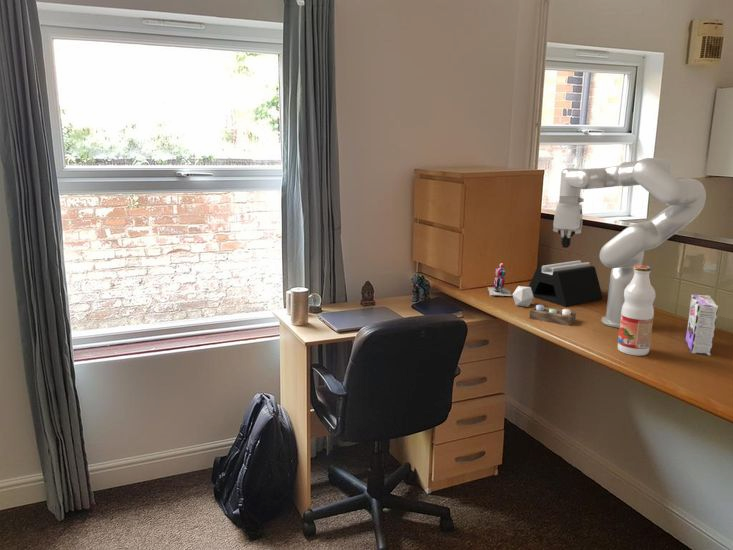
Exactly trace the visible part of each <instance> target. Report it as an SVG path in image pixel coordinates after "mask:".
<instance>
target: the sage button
mask: <svg viewBox="0 0 733 550" xmlns="http://www.w3.org/2000/svg"><path fill="white" fill-rule="evenodd" d="M557 309H558V308H552V309H549V313H555V314H557Z"/></svg>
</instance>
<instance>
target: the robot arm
mask: <svg viewBox="0 0 733 550" xmlns="http://www.w3.org/2000/svg"><path fill="white" fill-rule="evenodd" d="M672 173H673V165H672V163H671V162H670V161H669V160H668V159H666V158H663V157H646V158H643V159H639V160H633V161H626V162H621V163H620V164H619V165H616V166H615V165H614V166H609V167H599V168H583V169H582V168H581V169H580V168H574V167H573V168H567V167H566V168H563V169H562V170H561V173H560V174H561V175H560V186H559V200H558V203H557V205H556V207H555V211H554V217H553V218H554V219H553V228H552V232H554V233H555V232H556V233H558V234H559V236H560V237H561V246H562V248H563V249H564V248H566V249H567V248H569V247H570V246H571V238H572V237H573V236H574V235H578V234H581V233H582V227H583V205H582V204H580V203H584V200H585V199H584V198H582V197H581V191H582V190H592V189H604V188H612V187H632V186H641V187H642V188H644V189H645V191H647V192H648V193H649V194H651V195H652V196H653V197H654V198H655V199H657V200H658V201H659V202H661V203H663V204H665V205H667V206H668V207H666V208H665V209H663V210H661V211H660V212H659V213H658V214H657V215H655V216H654V217H652V218H651V219H650V220H648V221H644V222H639V223H634V224H631V225H630V226H627V227H626V228H624V229H622V231H620V232H619V233H618V234H617V235H615V236H614V237H612V238H611V239H610V240H609V241H607V242H606V243H605V244H604V245H603V246H602V247H601V249H600V251H599V260H600V263H601V264H602V265H603V266H604V267H606V268H609V269H611V271H610V275H609V284H608V292H607V303H606V313H605V316H602V317H601V318H600V319H601V320H600V322H601V324H603V325H606V326H609V327H612V328H617V329H619V328H620V319H621V310H622V305H623V304H624V301H625V300H624V290H625V288H626V287H627V286H628V285H629V284H630V282H631V281H632V279H633V276H634V266H635V265H643V261H644V256H645V255H644V254H645V251H649V250H653V249H656V248H657V247H659V246H660V245H661V244H662V243H664V242H666V241H667V240H669V238H671V237H672V236H674V235H675V234H677V233H679V231H681V230H682V229H684V228H685V227H686V226H688V225H689V224H690V223H692V222H693V221H694V220H695V219H696V218H697V217H698V216H699V215H700V213H701V212H702V211H703V208H704V207H705V204H706V199H707V193H706V192H707V191H706V188H705V186H704V184H703V183H702V182H701V181H700V180H698V179H695V178H691V177H685V178H682V177H681V178H676V177H674V176H673V175H672Z"/></svg>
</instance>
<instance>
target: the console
mask: <svg viewBox="0 0 733 550" xmlns="http://www.w3.org/2000/svg"><path fill="white" fill-rule="evenodd" d="M549 309H553V308H552V307H545V306H544V311H537V310H536V306H535V307H533V308H532V309H530V310H529V319H531V320H536V321H540V322H541V321H542V322H547V323H553V324H559V325H565V326H571V324H573V323H575V321H576V318H577V317H576V316H577V312H576V311H571V315H570V316H567V315H562V310H563V309H559V308H556V309H557V314H555V313H549Z"/></svg>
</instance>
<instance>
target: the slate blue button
mask: <svg viewBox="0 0 733 550" xmlns="http://www.w3.org/2000/svg"><path fill="white" fill-rule="evenodd" d="M535 307H536V310H537V311H544V307H545V305H543V304H536V305H535Z"/></svg>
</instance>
